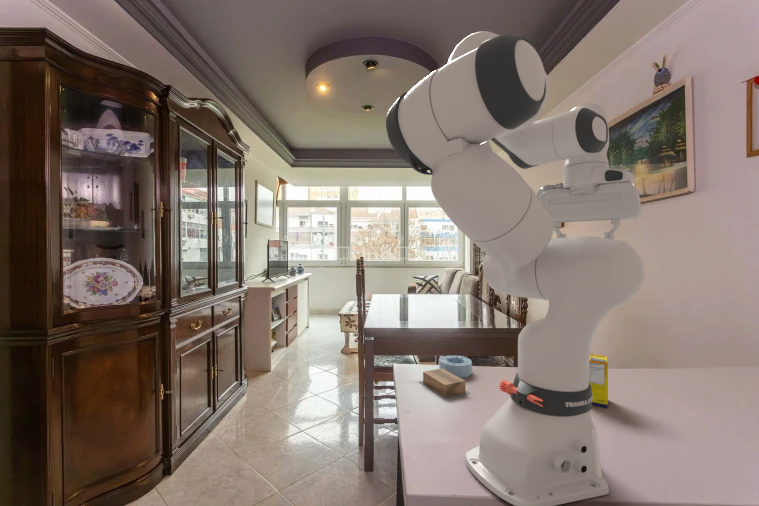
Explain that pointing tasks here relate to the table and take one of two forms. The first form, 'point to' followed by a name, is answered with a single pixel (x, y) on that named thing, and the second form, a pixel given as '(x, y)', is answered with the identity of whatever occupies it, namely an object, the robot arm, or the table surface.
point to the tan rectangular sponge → (444, 382)
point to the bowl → (456, 365)
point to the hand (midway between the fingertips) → (584, 241)
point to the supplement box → (599, 379)
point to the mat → (442, 395)
